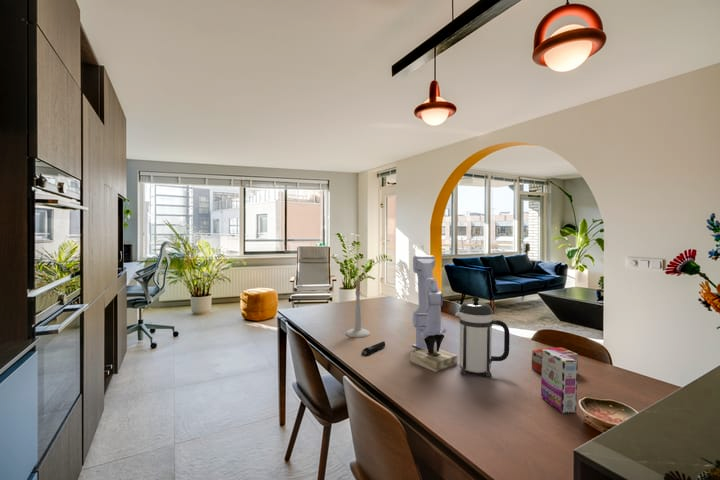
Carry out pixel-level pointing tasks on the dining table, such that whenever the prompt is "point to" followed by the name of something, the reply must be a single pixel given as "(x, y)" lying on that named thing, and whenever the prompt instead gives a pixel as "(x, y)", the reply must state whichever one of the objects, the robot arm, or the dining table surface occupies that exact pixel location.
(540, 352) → the medicine box
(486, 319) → the coffee press
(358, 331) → the candlestick
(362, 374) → the dining table surface
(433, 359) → the socket block
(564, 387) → the candy bar box
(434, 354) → the peg
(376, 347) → the electric trimmer
